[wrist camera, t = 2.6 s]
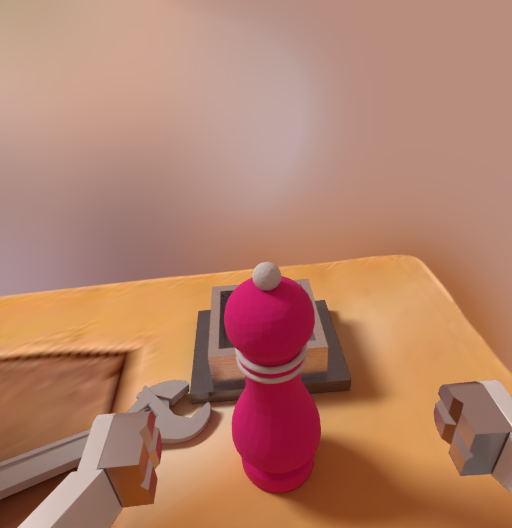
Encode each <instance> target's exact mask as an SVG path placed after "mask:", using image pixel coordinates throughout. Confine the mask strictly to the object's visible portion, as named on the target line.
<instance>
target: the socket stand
mask: <svg viewBox="0 0 512 528" xmlns="http://www.w3.org/2000/svg"><path fill="white" fill-rule="evenodd" d="M293 281H295V282H297V283H298V284H299V285H300V286H302V287H303V289H304V290H305V291H306V292H307V293H308V295H309V297H310V299H311V301H312V304H313V307H314V312H315V325H314V330H313V334H312V336H311V338H310V339H309V341H308V342H307V362H306V364H305V367H304V368H303V370H302V371H301V372H300V377H301V380H302V382H303V384H304V386H305V387H306V389H307V390H308V392H309V393H321V392H332V391H343V390H350V386H351V378H350V375H349V372H348V369H347V366H346V363H345V360H344V357H343V354H342V351H341V348H340V345H339V342H338V339H337V336H336V333H335V330H334V327H333V324H332V321H331V318H330V314H329V311H328V308H327V305H326V302H325V300H320V301H315V300H314V297H313V294H312V290H311V287H310V283H309V280H308V279H302V280H293ZM238 286H239V285H232V286H220V287H212V299H211V310H205V311H198V321H197V331H196V340H195V350H194V360H193V369H192V379H191V389H190V396H191V401H192V404H198V403H207V402H220V401H232V400H238V399H239V397H240V396H241V394H242V392H243V391H244V389H245V386H246V376H245V375H244V374H243V373H242V372H241V370H240V369H239V367H238V365H237V360H236V352H235V347H234V345H233V344H232V343H231V342H230V340H229V338H228V337H227V334H226V330H225V324H224V313H225V307H226V304H227V301H228V299H229V297H230V295H231V294H232V292H233V291H234V290H235V289H236V288H237V287H238Z"/></svg>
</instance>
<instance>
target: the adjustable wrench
mask: <svg viewBox="0 0 512 528" xmlns="http://www.w3.org/2000/svg"><path fill="white" fill-rule="evenodd" d="M188 392H189V383H188V382H186V381H183V380H172V381H166V382H162V383H159V384H157V385H154V386H152V387H150V388H148V387H146V386H144V388H143V390H142V392H140V393H139V394H138V395H137V397H136V398H137V399H138V400H137V401H136V403H135V404H134V405H133V406H132V407H131V408H130V409H129V410H128V411H127V412H126V413H132V412H148V411H153V412H154V415H155V418H156V420H155V426H156V427H157V428H159V430H160V434H161V441H162V444H178V443H183V442H186V441H189V440H191V439H193V438H194V437H196V436H197V435H198V434H200V433H201V432H202V431H203V429H204V428H205V427H206V425H207V423H208V421H209V419H210V413H211V406H210V403H209V402H207V403H206V404H205V405H204V406H203V407H202V408H201V409H200V410H199V411H197V412H196V413H195V414H194V415H193V416H192V417H191V418H188V417H183V416H179V415H175V414H174V413H173V412H172V411H171V410H170V409H169V405H171V406H173V405H174V404H175V403H176V402H177V401H179V400H180V399H181V398H182V397H183V396H184V395H185V394H187V393H188ZM90 431H91V429H89V430H86V431H84V432H81V433H78V434H76V435H73V436H70V437H67V438H65V439H62V440H59V441H57V442H54V443H51V444H48V445H46V446H43V447H40V448H37V449H35V450H32V451H29V452H27V453H24V454H21V455H18V456H16V457H13V458H10V459H7V460H5V461H2V462H0V499H3V498H5V497H7V496H10V495H12V494H14V493H17V492H19V491H21V490H24V489H26V488H28V487H31V486H33V485H35V484H38V483H40V482H42V481H45V480H47V479H50V478H52V477H54V476H57V475H59V474H61V473H64V472H66V471H68V470H71V469H73V468H75V467H78V466H79V464H80V461H81V458H82V455H83V452H84V449H85V446H86V443H87V440H88V437H89V434H90Z"/></svg>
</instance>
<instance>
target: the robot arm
mask: <svg viewBox="0 0 512 528" xmlns="http://www.w3.org/2000/svg"><path fill="white" fill-rule="evenodd" d="M438 394H439V396H440V398H441V400H440V401H438V402H437V403H436V404H435V409H434V419H435V424H436V427H437V430H438V432H439V434H440V436H441V438H442V439H443V440H445V441H446V442H447V443H449V444H450V449H449V455H450V457H451V459H452V461H453V463H454V465H455V467H456V469H457V470H458V472H459V474H460V476H467V475H484V474H492V476H493V477H494V478H495V479H496V480H497V481H498V482H499V483H500V484H502V485H503V486H504V487H505V488H506V489H507V490H508V491H509V492H511V493H512V397H511V396H510V394H509V393H508V392H507V390H506V389H505V388H504V386H503V385H502V383H501V382H499V381H498V380H489V381H479V382H476V381H474V382H464V383H455V384H445V385H442V386H441V387H440V389H439V392H438ZM155 420H156V418H155V415H154V412H153V411H148V412H132V413H115V414H103V415H98V416H97V417H96V419H95V420H94V422H93V425H92V428H91V431H90V434H89V437H88V440H87V443H86V446H85V449H84V452H83V455H82V458H81V461H80V464H79V467H78V469H77V471H75V472H71V473H70V474H69V475H68V476H67V477H66V478H65V479H64V480H63V481H62V482H61V483H60V484H59V485H58V486H57V487H56V488H55V489H54V490H53V492H52V493H51V494H50V495H49V496H48V497H47V498H46V499H45V500H44V501H43V502H42V503H41V504H40V505H39V506H38V507H37V508H36V509H35V510H34V511H33V512H32V513H31V514H30V515H29V516H28V517H27V518H26V519H25V520H24V521H23V522H22V524H21V525H20V526H19V527H18V528H110V527H111V525H112V524H113V522H114V521H115V519H116V518H117V516H118V515H119V514H120V512H121V511H122V507H130V506H138V505H147V504H154V498H155V492H156V485H157V476H156V473H155V469H156V467H157V466H158V465H159V464H160V460H161V450H162V441H161V434H160V430H159V428H157V427H156V426H155Z"/></svg>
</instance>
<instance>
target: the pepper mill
mask: <svg viewBox="0 0 512 528" xmlns="http://www.w3.org/2000/svg"><path fill="white" fill-rule="evenodd" d="M252 277H253V278H250V279H248V280H247V281H245V282H243V283H242V284H240V285H239V286H238V287H237V288H236V289H235V290H234V291H233V292H232V294H231V295H230V297H229V299H228V301H227V304H226V307H225V313H224V324H225V330H226V334H227V337H228V338H229V340H230V342H231V343H232V344H233V345H234V347H235V352H236V360H237V365H238V367H239V369H240V370H241V372H242V373H243V374H244V375H245V376H246V386H245V389H244V391H243V392H242V394H241V396H240V397H239V399H238V401H237V403H236V406H235V409H234V413H233V417H232V436H233V441H234V444H235V447H236V449H237V451H238V452H239V454H240V455H241V457H242V463H243V468H244V471H245V473H246V475H247V476H248V478H249V479H250V480H251V481H252V482H253V483H254V484H255V485H256V486H258V487H259V488H261V489H263V490H266V491H269V492H275V493H283V492H288V491H291V490H293V489H296V488H297V487H299V486H300V485H302V484H303V483H304V482H305V481H306V480H307V478H308V477H309V475H310V474H311V472H312V468H313V465H314V452H315V451H316V449H317V447H318V444H319V440H320V436H321V426H320V417H319V413H318V410H317V407H316V404H315V402H314V400H313V398H312V396H311V395H310V393H309V392H308V390H307V389H306V387H305V386H304V384H303V382H302V380H301V377H300V372H301V371H302V370H303V368H304V367H305V364H306V362H307V342H308V341H309V339H310V338H311V336H312V334H313V330H314V325H315V312H314V307H313V304H312V301H311V299H310V297H309V295H308V293H307V292H306V291H305V290H304V289H303V287H302V286H300V285H299V284H298V283H297V282H295V281H293V280H291V279H289V278H286V277H283V276H281V273H280V270H279V268H278V267H277V266H276V265H274V264H273V263H270V262H264V263H261V264H259V265H258V266H257V267H256V268H255V269H254V271H253V276H252Z"/></svg>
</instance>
